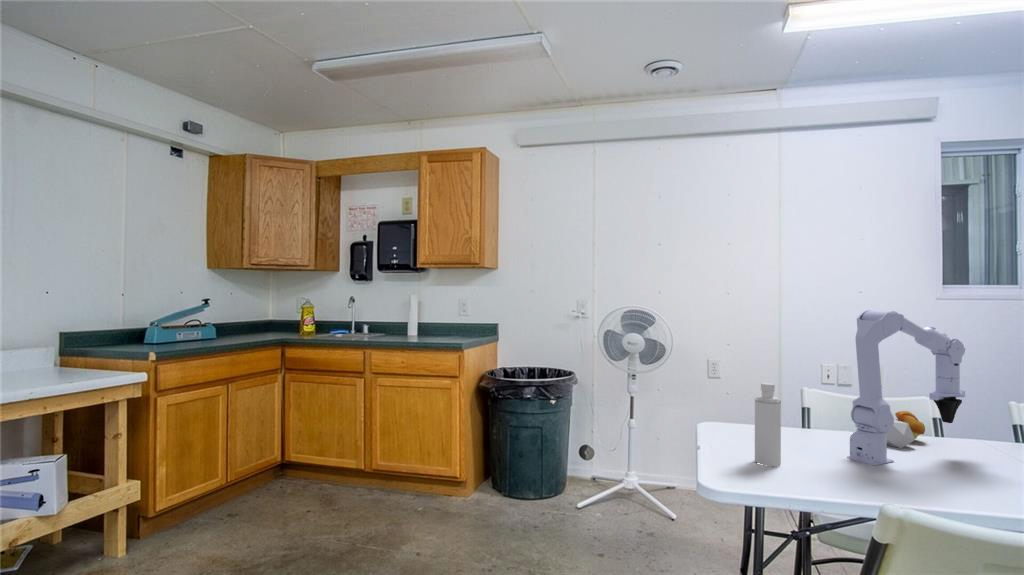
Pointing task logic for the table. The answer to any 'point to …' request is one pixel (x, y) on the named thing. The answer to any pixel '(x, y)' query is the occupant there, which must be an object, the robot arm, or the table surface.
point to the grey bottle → (768, 427)
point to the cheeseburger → (911, 422)
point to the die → (900, 435)
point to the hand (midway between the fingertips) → (947, 422)
